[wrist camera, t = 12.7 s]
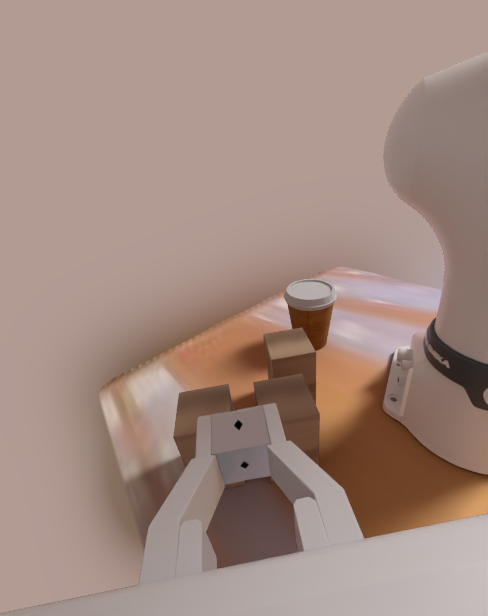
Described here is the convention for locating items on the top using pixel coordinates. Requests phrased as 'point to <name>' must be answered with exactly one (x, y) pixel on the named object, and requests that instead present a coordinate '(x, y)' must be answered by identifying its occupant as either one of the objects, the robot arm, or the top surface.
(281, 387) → the walnut block numbered 1
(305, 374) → the walnut block numbered 2
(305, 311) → the disposable coffee cup
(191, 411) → the plain walnut block
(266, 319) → the top surface
